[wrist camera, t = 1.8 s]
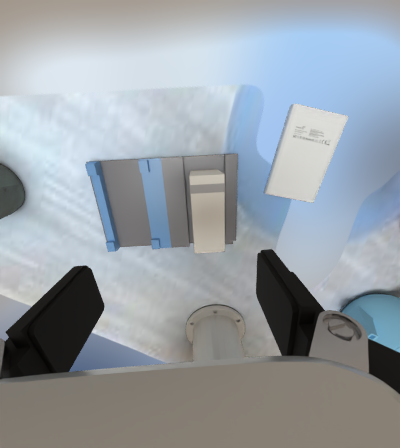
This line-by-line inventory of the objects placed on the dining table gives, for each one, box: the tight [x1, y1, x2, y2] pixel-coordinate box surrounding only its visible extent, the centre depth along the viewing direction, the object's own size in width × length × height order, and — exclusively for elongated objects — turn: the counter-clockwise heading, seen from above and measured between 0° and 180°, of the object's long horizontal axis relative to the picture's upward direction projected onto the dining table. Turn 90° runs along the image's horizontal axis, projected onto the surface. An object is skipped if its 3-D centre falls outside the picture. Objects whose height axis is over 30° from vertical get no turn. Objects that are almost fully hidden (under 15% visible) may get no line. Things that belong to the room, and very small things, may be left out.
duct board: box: [85, 154, 238, 252], centre depth 29 cm, size 14×22×3 cm, turn 93°
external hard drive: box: [264, 104, 348, 203], centre depth 28 cm, size 2×8×12 cm
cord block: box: [189, 169, 225, 253], centre depth 26 cm, size 10×4×7 cm, turn 3°
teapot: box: [342, 294, 400, 353], centre depth 35 cm, size 15×15×11 cm
